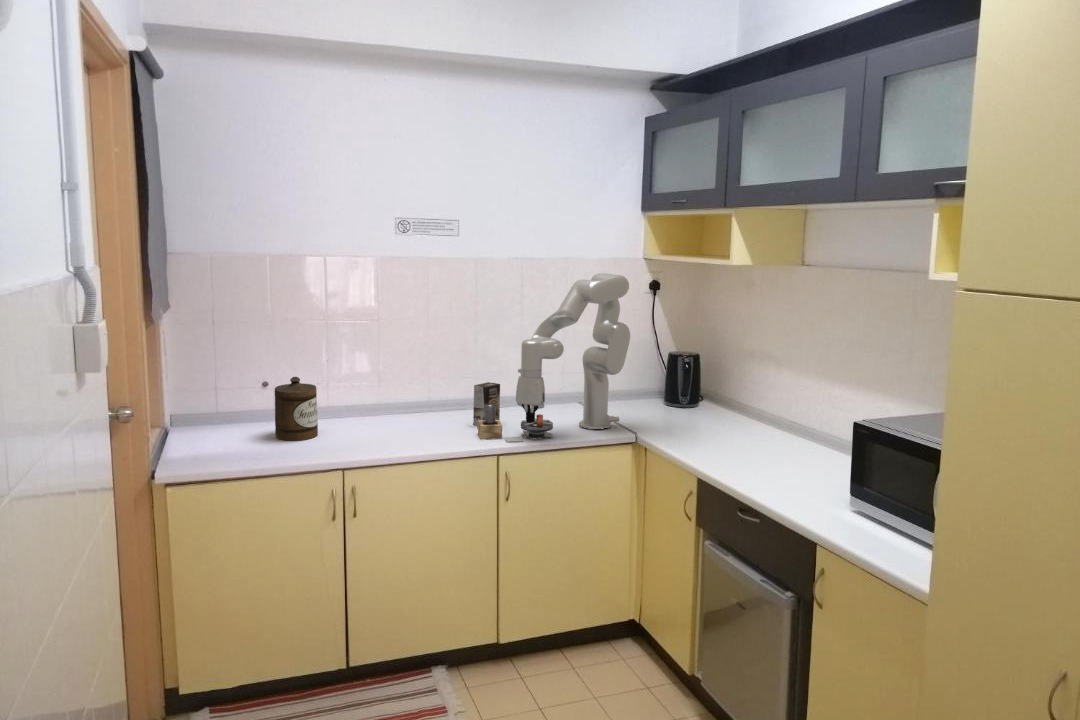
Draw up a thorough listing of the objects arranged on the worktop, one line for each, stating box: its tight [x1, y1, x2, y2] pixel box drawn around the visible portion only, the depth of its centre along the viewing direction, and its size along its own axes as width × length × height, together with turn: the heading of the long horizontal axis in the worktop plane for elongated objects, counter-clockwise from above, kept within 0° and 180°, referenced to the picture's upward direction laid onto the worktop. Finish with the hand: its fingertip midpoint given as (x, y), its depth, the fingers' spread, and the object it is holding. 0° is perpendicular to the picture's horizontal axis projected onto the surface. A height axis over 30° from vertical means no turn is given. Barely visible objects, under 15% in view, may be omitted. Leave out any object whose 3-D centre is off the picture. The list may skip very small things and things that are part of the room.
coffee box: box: [472, 381, 501, 427], centre depth 308 cm, size 9×6×16 cm
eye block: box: [477, 420, 503, 440], centre depth 292 cm, size 8×8×5 cm
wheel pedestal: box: [522, 430, 552, 440], centre depth 295 cm, size 9×9×3 cm
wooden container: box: [274, 376, 319, 442], centre depth 286 cm, size 15×15×22 cm
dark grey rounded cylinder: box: [485, 403, 496, 425], centre depth 292 cm, size 4×4×12 cm
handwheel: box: [520, 413, 554, 432], centre depth 294 cm, size 12×12×6 cm
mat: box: [504, 436, 524, 443], centre depth 288 cm, size 6×6×1 cm
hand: (530, 422), depth 289 cm, fingers closed
